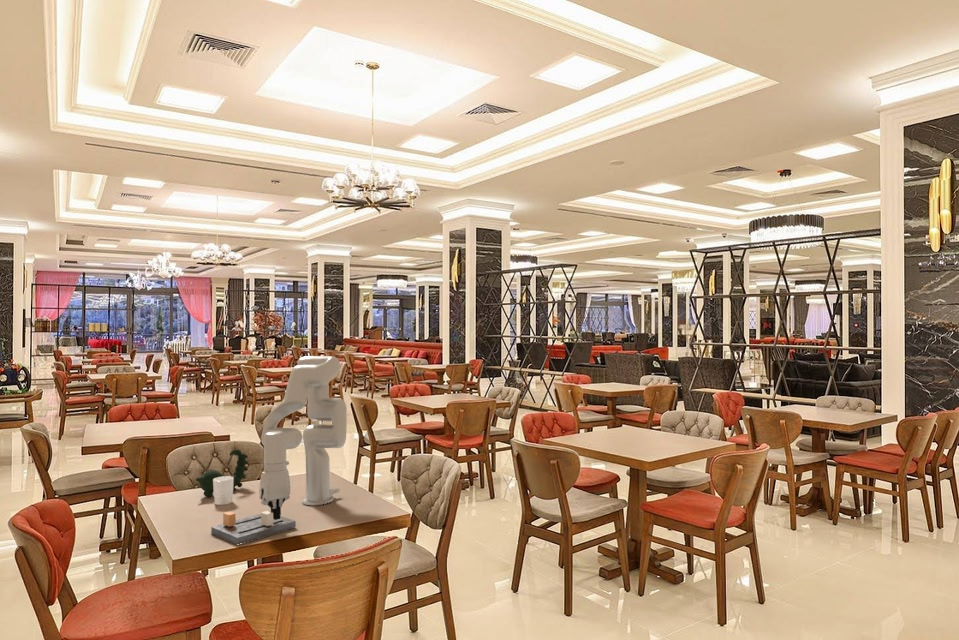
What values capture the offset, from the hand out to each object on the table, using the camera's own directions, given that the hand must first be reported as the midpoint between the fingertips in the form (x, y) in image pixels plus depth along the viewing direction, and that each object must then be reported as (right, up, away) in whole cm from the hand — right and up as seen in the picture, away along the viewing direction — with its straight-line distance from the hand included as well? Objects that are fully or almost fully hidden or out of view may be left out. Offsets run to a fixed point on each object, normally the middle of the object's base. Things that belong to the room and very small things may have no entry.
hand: (275, 518), depth 220 cm
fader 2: (-2, -2, -3) cm, 4 cm away
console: (-7, -4, -1) cm, 9 cm away
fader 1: (-15, -2, -3) cm, 16 cm away
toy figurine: (-40, -5, +50) cm, 64 cm away
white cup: (-33, -5, +35) cm, 49 cm away
